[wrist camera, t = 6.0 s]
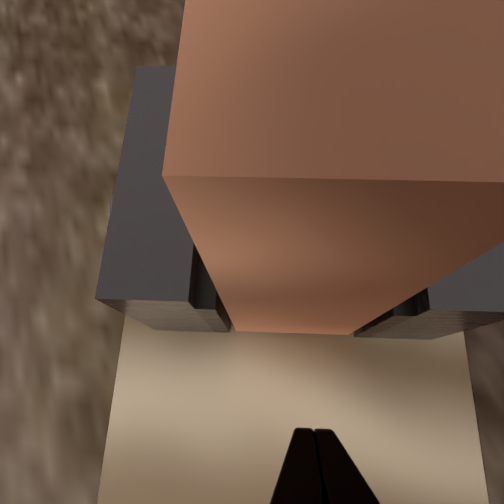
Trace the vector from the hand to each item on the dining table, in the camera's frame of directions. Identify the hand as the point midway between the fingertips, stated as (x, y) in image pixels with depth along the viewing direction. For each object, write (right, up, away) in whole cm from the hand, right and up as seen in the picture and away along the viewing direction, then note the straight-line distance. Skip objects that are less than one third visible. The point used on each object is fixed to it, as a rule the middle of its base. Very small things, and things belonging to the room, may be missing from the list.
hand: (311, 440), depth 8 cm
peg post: (0, +4, +8) cm, 9 cm away
